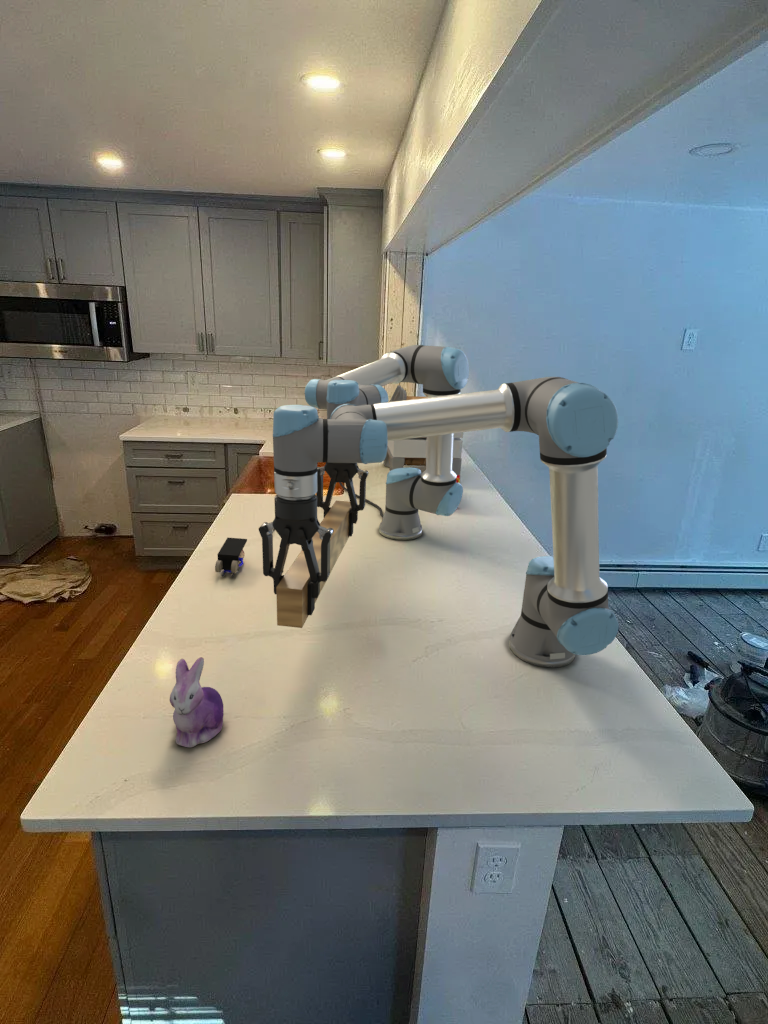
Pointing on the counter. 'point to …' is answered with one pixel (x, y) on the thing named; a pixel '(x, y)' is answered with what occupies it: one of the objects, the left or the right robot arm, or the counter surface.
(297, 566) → the post
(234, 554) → the black boxy wheeled piece
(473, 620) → the counter surface
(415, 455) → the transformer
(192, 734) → the figurine
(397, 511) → the left robot arm
